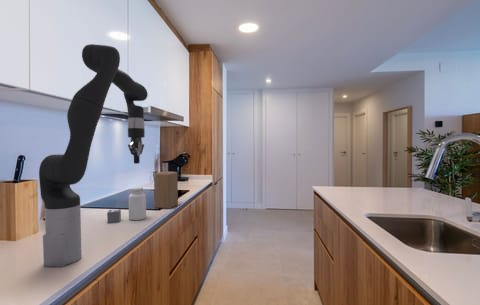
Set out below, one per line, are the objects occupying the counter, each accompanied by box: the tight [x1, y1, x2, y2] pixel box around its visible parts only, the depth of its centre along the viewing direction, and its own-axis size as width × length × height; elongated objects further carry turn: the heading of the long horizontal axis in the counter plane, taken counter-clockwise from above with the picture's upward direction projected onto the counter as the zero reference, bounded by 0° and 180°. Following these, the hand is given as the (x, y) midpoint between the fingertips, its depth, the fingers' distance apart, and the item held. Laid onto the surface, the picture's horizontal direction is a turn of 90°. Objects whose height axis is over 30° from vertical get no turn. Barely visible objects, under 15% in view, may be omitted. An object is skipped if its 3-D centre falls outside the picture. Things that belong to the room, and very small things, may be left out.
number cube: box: [106, 208, 122, 224], centre depth 123 cm, size 5×5×5 cm
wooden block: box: [153, 171, 179, 210], centre depth 151 cm, size 10×10×20 cm
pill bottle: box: [128, 186, 147, 221], centre depth 128 cm, size 8×8×15 cm
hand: (136, 163), depth 127 cm, fingers closed
